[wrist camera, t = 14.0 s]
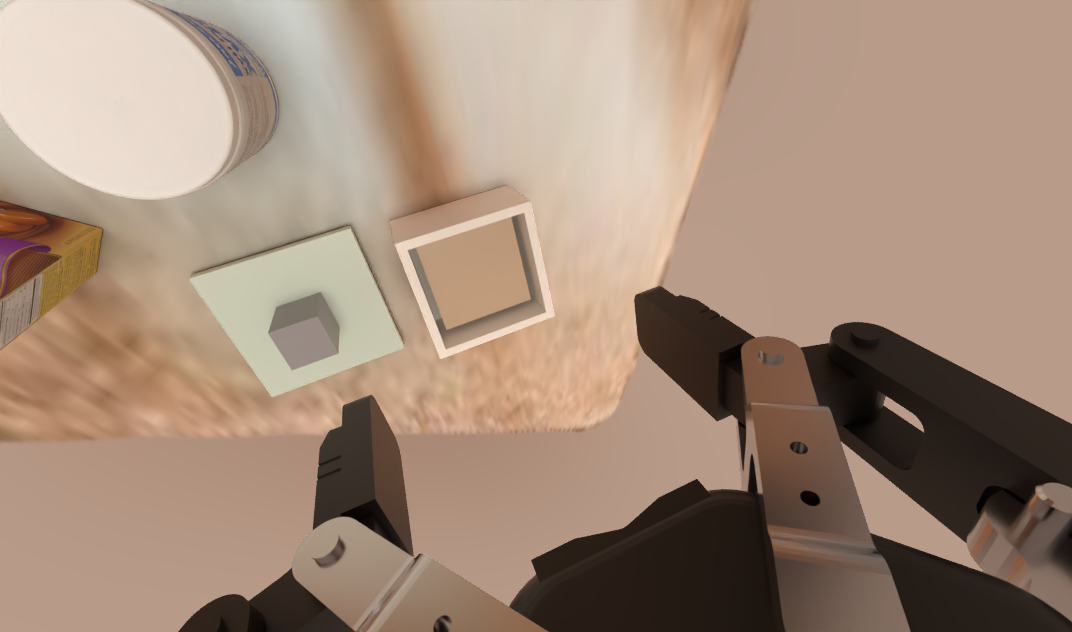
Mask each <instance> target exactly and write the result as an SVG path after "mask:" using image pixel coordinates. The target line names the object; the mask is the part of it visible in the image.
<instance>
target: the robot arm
mask: <svg viewBox="0 0 1072 632" xmlns="http://www.w3.org/2000/svg"><path fill="white" fill-rule="evenodd" d="M634 302H635V313H636V324H637V334H638V340H639V343H640V345H641V347H642V349H643V351H644V352H645V354H646V355H647V356H648V357H649V358H650V359H651V360H652V361H654V362H655V363H656V364H657V365H658V366H659V367H660V368H661V369H662V370H663V371H664V372H665V373H666V374H667V375H668V376H670V377H671V378H672V379H673V380H674V381H675V382H676V383H677V384H678V385H679V386H680V387H681V388H682V389H683V390H684V391H685V392H686V393H688V394H689V395H690V396H691V397H692V398H693V399H694V400H695V401H696V402H697V403H698V404H699V405H700V406H701V407H702V408H703V409H705V410H706V411H707V412H708V413H709V414H710V415H711V416H712V417H713V418H714V419H715V420H716V421H719V420H721V419H723V418H726V417H728V416H730V415H733V416H734V417H735V418H736V419H737V439H738V450H739V461H740V472H741V485H742V491H740V490H727V489H721V490H710V491H707V490H706V489H705V488H704V487H703V485H702V484H701V483H700V482H699V481H698V480H697V479H696V480H694V481H692V482H690V483H688V484H686V485H684V486H682V487H680V488H677V489H676V490H673V491H671V492H669V493H667V494H665V495H663V496H661V497H659V498H658V499H657V500H656V501H654V502H653V503H652V504H651V505H650V506H649V507H648V508H647V509H645V510H644V511H643V512H642V513H641V514H640V515H639V516H638V517H636V518H635V519H634V520H633V521H632V522H631V523H630V524H629V525H627V526H626V527H624V528H622V529H619V530H615V531H610V532H605V533H600V534H596V535H591V536H586V537H581V538H576V539H574V540H571V541H569V542H567V543H565V544H563V545H561V546H559V547H557V548H555V549H553V550H551V551H549V552H547V553H545V554H543V555H541V556H538V557H536V558H534V559H533V560H531V561H532V564H533V566H534V569H535V571H536V575H535V576H534V577H533V578H532V579H531V580H530V581H528V583H527V584H526V585H525V586H524V587H523V588H522V589H521V590H520V591H519V593H518V594H517V595H516V597H515V598H514V600H513V601H512V603H511V604H510V606H509V607H508V606H507V605H505V604H504V603H502V602H500V601H499V600H497V599H496V598H494V597H492V596H491V595H489V594H488V593H486V592H484V591H483V590H481V589H480V588H478V587H476V586H475V585H473V584H472V583H470V582H468V581H467V580H465V579H464V578H462V577H461V576H459V575H457V574H456V573H454V572H453V571H451V570H449V569H448V568H446V567H445V566H443V565H441V564H440V563H438V562H437V561H435V560H433V559H432V558H430V557H428V556H426V555H424V554H419V555H418V556H417V557H416V558H414V555H413V548H412V540H411V532H410V524H409V516H408V509H407V501H406V493H405V486H404V478H403V471H402V462H401V455H400V450H399V447H398V444H397V441H396V438H395V436H394V434H393V432H392V430H391V428H390V426H389V424H388V422H387V420H386V419H385V417H384V415H383V413H382V411H381V409H380V407H379V405H378V403H377V402H376V400H375V398H374V397H373V396H372V395H369V396H367V397H364V398H361V399H359V400H356V401H354V402H351V403H348V404H346V405H344V406H343V411H342V426H341V427H338V428H336V429H333V430H331V431H329V432H328V434H327V436H326V438H325V440H324V441H323V444H322V445H321V447H320V452H319V467H318V475H317V478H318V481H317V487H316V499H315V511H314V522H313V531H312V532H311V533H310V534H309V535H308V536H307V537H306V538H305V539H304V540H303V542H302V543H301V544H300V546H299V547H298V549H297V551H296V553H295V556H294V559H293V563H292V568H291V569H290V570H289V571H288V572H287V573H285V574H284V575H283V576H282V577H281V578H279V579H278V580H277V581H275V582H274V583H272V584H271V585H270V586H269V587H267V588H266V589H264V590H263V591H262V592H261V593H259V594H258V595H256V596H255V597H253V598H252V599H251V600H249V601H247V600H246V599H245V598H244V597H243V596H241V595H237V594H232V595H226V596H222V597H220V598H217V599H215V600H213V601H212V602H210V603H208V604H207V605H205V606H204V607H202V608H201V609H200V610H199V611H197V612H196V613H195V614H194V615H193V616H192V617H191V618H190V619H189V620H188V621H187V622H186V623H185V624H184V626H183V627H182V628H181V629H180V630H179V632H1072V424H1071V423H1069V422H1067V421H1065V420H1063V419H1061V418H1059V417H1057V416H1055V415H1053V414H1051V413H1049V412H1047V411H1045V410H1044V409H1041V408H1040V407H1038V406H1036V405H1034V404H1032V403H1030V402H1028V401H1026V400H1024V399H1022V398H1020V397H1018V396H1016V395H1014V394H1013V393H1011V392H1009V391H1007V390H1005V389H1003V388H1001V387H999V386H997V385H995V384H993V383H991V382H989V381H987V380H985V379H983V378H981V377H980V376H978V375H976V374H974V373H972V372H970V371H968V370H966V369H964V368H962V367H960V366H958V365H956V364H954V363H952V362H950V361H948V360H947V359H945V358H943V357H941V356H939V355H937V354H935V353H933V352H931V351H929V350H927V349H925V348H923V347H921V346H919V345H917V344H915V343H914V342H912V341H910V340H908V339H906V338H904V337H902V336H900V335H898V334H896V333H894V332H892V331H890V330H888V329H886V328H884V327H881V326H878V325H875V324H870V323H863V322H851V323H845V324H841V325H839V326H837V327H835V328H834V329H833V330H832V332H831V336H830V342H829V343H827V344H820V345H814V346H809V347H802V348H800V347H798V346H797V345H796V344H794V343H793V342H791V341H789V340H786V339H783V338H778V337H769V336H766V337H757V338H755V337H754V336H752V335H751V334H749V333H747V332H746V331H744V330H743V329H741V328H740V327H738V326H736V325H735V324H733V323H732V322H730V321H729V320H727V319H726V318H724V317H723V316H721V317H720V315H719V314H718V313H716V312H715V311H713V310H710V309H709V307H707V306H705V305H704V304H703V303H701V302H699V301H698V300H695V299H692V298H689V297H685V296H681V295H679V296H677V297H676V296H674V295H673V294H671V293H670V292H668V291H667V290H665V289H664V288H663V287H660V286H658V287H655V288H652V289H650V290H647V291H644V292H642V293H639V294H637V295H636V296H635V300H634ZM886 396H887V397H889V398H890V399H892V400H893V401H895V402H896V403H898V404H899V405H901V406H903V407H904V408H906V409H907V410H909V411H910V412H912V413H913V414H914V415H916V417H917V418H918V419H919V420H920V421H921V423H922V425H923V428H924V433H923V432H922V431H921V430H919V429H918V428H916V427H915V426H913V425H912V424H910V423H908V422H907V421H906V420H904V419H903V418H901V417H900V416H898V415H897V414H895V413H894V412H892V411H891V410H889V409H888V408H886V407H885V406H883V404H884V400H885V397H886ZM841 441H842V442H843V443H844V444H845V445H847V446H848V447H849V448H850V449H851V450H853V451H854V452H855V453H856V454H858V455H859V456H860V457H861V458H862V459H864V460H865V461H866V462H868V463H869V464H870V465H871V466H872V467H874V468H875V469H876V470H877V471H878V472H880V473H881V474H882V475H883V476H885V477H886V478H887V479H888V480H889V481H891V482H892V483H893V484H894V485H896V486H897V487H898V488H899V489H901V490H902V491H903V492H904V493H905V494H907V495H908V496H909V497H910V498H912V499H913V500H914V501H915V502H917V503H918V504H919V505H920V506H921V507H923V508H924V509H925V510H926V511H928V512H929V513H930V514H931V515H933V516H934V517H935V518H936V519H937V520H939V521H940V522H941V523H942V524H944V525H945V526H946V527H947V528H949V529H950V530H951V531H952V532H954V533H955V534H956V535H957V536H958V537H960V538H961V539H962V540H963V541H965V542H966V543H967V546H968V549H969V552H970V554H971V556H972V557H973V559H974V560H975V562H976V563H977V564H978V565H979V567H980V568H982V570H983V571H982V572H981V571H978V570H975V569H972V568H969V567H966V566H963V565H961V564H958V563H955V562H952V561H949V560H946V559H943V558H940V557H938V556H935V555H932V554H929V553H926V552H923V551H920V550H918V549H915V548H912V547H909V546H906V545H903V544H900V543H897V542H895V541H892V540H889V539H886V538H883V537H880V536H877V535H875V534H872V533H870V532H869V529H868V525H867V522H866V519H865V516H864V513H863V510H862V507H861V504H860V501H859V497H858V494H857V491H856V488H855V485H854V482H853V479H852V476H851V472H850V469H849V466H848V463H847V460H846V457H845V454H844V451H843V447H842V444H841Z"/></svg>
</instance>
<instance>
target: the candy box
mask: <svg viewBox="0 0 1072 632" xmlns="http://www.w3.org/2000/svg"><path fill="white" fill-rule="evenodd" d="M102 232H103V230H102V229H101V228H98V227H94V226H90V225H87V224H83V223H79V222H76V221H73V220H68V219H65V218H61V217H56V216H52V215H49V214H46V213H42V212H39V211H35V210H31V209H27V208H24V207H20V206H16V205H12V204H8V203H4V202H1V201H0V351H1V350H2V349H3V348H4V347H5V346H7V345H8V344H9V343H11V342H12V341H13V340H14V339H15V338H17V337H18V336H19V335H20V334H21V333H23V332H24V331H25V330H26V329H28V328H29V327H30V326H31V325H33V324H34V323H35V322H36V321H37V320H38V319H40V318H41V317H42V316H43V315H44V314H46V313H47V312H48V311H49V310H51V309H52V308H53V307H54V306H56V305H57V304H58V303H60V302H61V301H62V300H63V299H65V298H66V297H67V296H68V295H69V294H70V293H71V292H73V291H74V290H75V289H76V288H78V287H79V286H80V285H81V284H83V283H84V282H85V281H86V280H88V279H89V278H90V277H92V276H93V275H94V274H95V273H96V269H97V262H98V256H99V249H100V242H101V237H102Z"/></svg>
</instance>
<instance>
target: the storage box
mask: <svg viewBox="0 0 1072 632" xmlns="http://www.w3.org/2000/svg"><path fill="white" fill-rule="evenodd" d="M389 225H390V229H391V233H392V237H393V240H394V244H395V247H396V249H397V252H398V254H399V257H400V259H401V262H402V264H403V267H404V269H405V272H406V274H407V277H408V279H409V282H410V284H411V287H412V289H413V292H414V295H415V297H416V300H417V302H418V305H419V307H420V310H421V312H422V315H423V317H424V320H425V322H426V325H427V327H428V330H429V332H430V335H431V337H432V340H433V342H434V345H435V347H436V350H437V352H438V355H439V357H440V359H442V358H445V357H448V356H450V355H453V354H456V353H458V352H461V351H464V350H466V349H469V348H472V347H474V346H477V345H479V344H482V343H485V342H487V341H490V340H493V339H495V338H498V337H501V336H503V335H506V334H509V333H511V332H514V331H517V330H519V329H522V328H525V327H527V326H530V325H533V324H535V323H538V322H541V321H543V320H546V319H549V318H551V317H554V316H555V314H554V309H553V304H552V300H551V295H550V290H549V285H548V281H547V276H546V271H545V266H544V261H543V257H542V252H541V247H540V242H539V238H538V233H537V228H536V223H535V219H534V214H533V209H532V204H531V201H530V200H529V199H527V198H526V197H524V196H523V195H521V194H520V193H518V192H517V191H516V190H514V189H513V188H511V187H510V186H508V185H505V186H502V187H499V188H495V189H492V190H489V191H486V192H482V193H479V194H476V195H473V196H469V197H466V198H463V199H459V200H456V201H453V202H450V203H446V204H443V205H440V206H437V207H433V208H430V209H427V210H423V211H420V212H417V213H414V214H410V215H407V216H404V217H401V218H397V219H394V220H391V221H389Z"/></svg>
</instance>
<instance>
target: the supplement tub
mask: <svg viewBox="0 0 1072 632" xmlns="http://www.w3.org/2000/svg"><path fill="white" fill-rule="evenodd" d="M0 114H1V116H2V117H3V119H4V120H5V122H6V123H7V124H8V126H9V127H10V129H11V130H12V131H13V132H14V133H15V134H16V135H17V137H18V138H19V139H20V140H21V141H22V142H23V143H24V144H25V145H26V146H27V147H28V148H29V149H30V150H31V151H32V152H33V153H35V154H36V155H37V156H38V157H39V158H40V159H42V160H43V161H44V162H46V163H47V164H48V165H50V166H51V167H53V168H54V169H56V170H57V171H59V172H60V173H62V174H64V175H65V176H67V177H69V178H71V179H73V180H75V181H77V182H79V183H81V184H83V185H85V186H88V187H90V188H93V189H96V190H98V191H101V192H104V193H107V194H112V195H116V196H120V197H125V198H131V199H141V200H158V199H167V198H174V197H178V196H181V195H185V194H188V193H192V192H195V191H197V190H200V189H202V188H204V187H206V186H208V185H210V184H212V183H213V182H215V181H216V180H218V179H220V178H221V177H223V176H224V175H225V174H227V173H228V172H230V171H231V170H232V169H234V168H235V167H237V166H238V165H240V164H241V163H242V162H244V161H245V160H247V159H248V158H250V157H251V156H252V155H254V154H255V153H257V152H258V151H259V150H260V149H261V148H263V147H264V146H265V145H266V144H267V142H268V141H269V140H270V138H271V136H272V135H273V133H274V130H275V128H276V125H277V120H278V100H277V95H276V91H275V88H274V85H273V82H272V80H271V78H270V76H269V74H268V72H267V70H266V69H265V67H264V66H263V64H262V63H261V62H260V60H259V59H258V58H257V57H256V55H255V54H254V53H253V52H252V51H251V50H250V49H249V48H248V47H247V46H246V45H245V44H244V43H242V42H241V41H240V40H238V39H237V38H236V37H234V36H233V35H231V34H230V33H228V32H227V31H225V30H223V29H221V28H219V27H217V26H215V25H212V24H210V23H207V22H205V21H202V20H199V19H196V18H193V17H190V16H188V15H185V14H183V13H180V12H177V11H174V10H171V9H169V8H166V7H163V6H160V5H158V4H155V3H152V2H150V1H147V0H11V1H10V2H8V3H7V4H6V5H5V6H4V7H3V8H2V9H1V10H0Z"/></svg>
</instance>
